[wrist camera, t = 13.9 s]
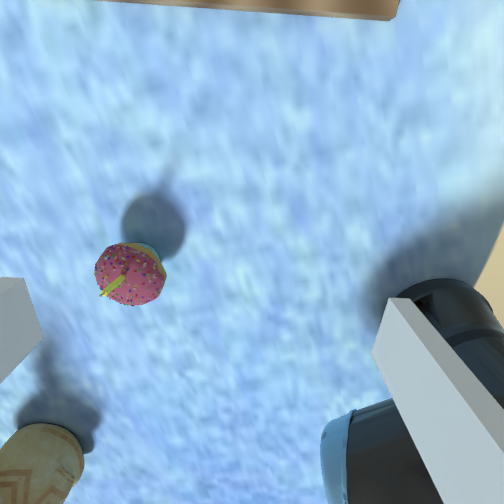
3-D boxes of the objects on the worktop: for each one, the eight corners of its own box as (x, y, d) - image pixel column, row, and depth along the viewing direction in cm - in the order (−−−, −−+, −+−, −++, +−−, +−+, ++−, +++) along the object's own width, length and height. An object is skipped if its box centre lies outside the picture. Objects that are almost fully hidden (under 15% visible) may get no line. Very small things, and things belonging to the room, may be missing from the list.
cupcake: (109, 227, 38) (50, 272, 27) (173, 233, 38) (141, 280, 27) (116, 282, 41) (67, 341, 31) (175, 287, 42) (147, 347, 31)
